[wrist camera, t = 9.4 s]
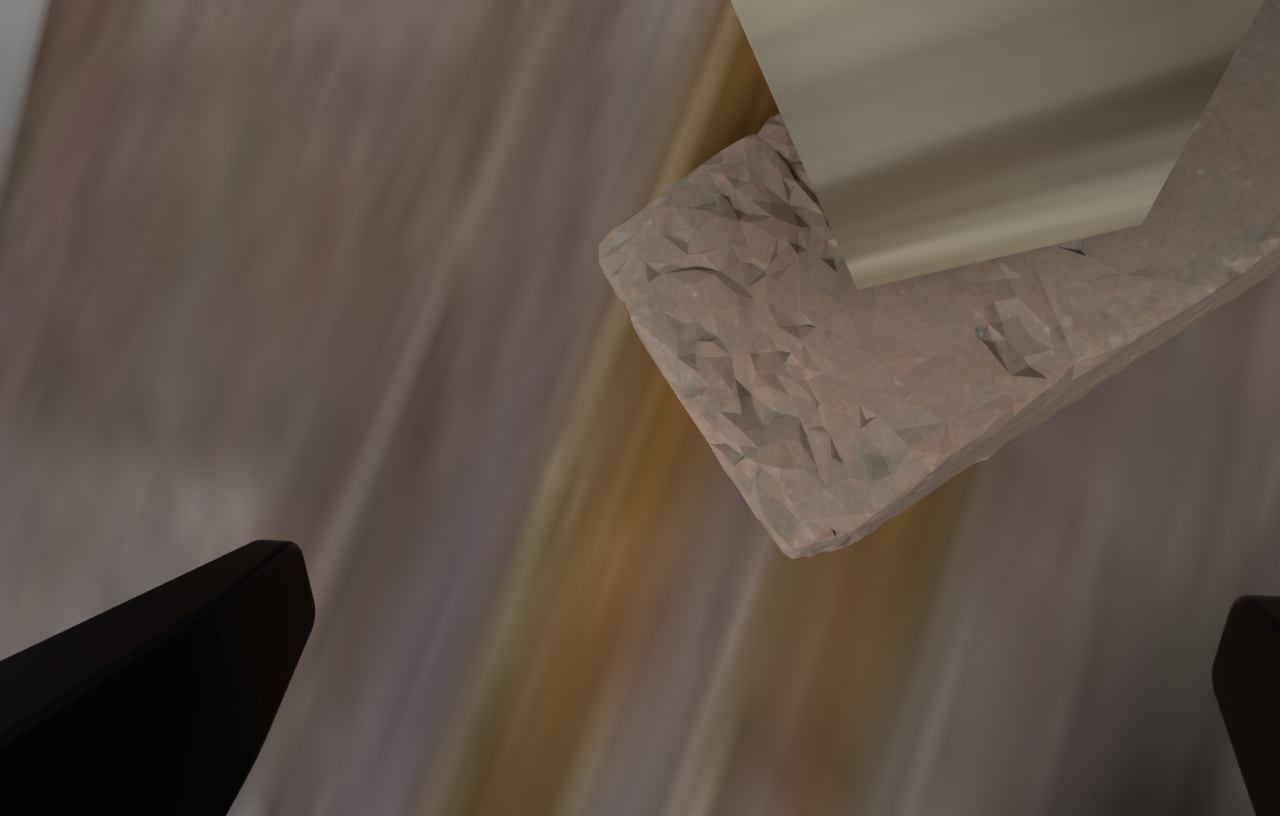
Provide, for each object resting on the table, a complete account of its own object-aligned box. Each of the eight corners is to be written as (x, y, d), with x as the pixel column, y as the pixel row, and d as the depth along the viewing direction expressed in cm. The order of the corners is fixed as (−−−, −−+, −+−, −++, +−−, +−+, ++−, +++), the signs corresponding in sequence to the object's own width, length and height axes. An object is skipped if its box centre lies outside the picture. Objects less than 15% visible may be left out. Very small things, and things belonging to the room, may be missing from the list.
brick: (1215, -131, 21) (1280, -308, 16) (1503, 133, 18) (1671, 8, 14) (644, 301, 24) (571, 251, 20) (819, 570, 22) (780, 581, 17)
